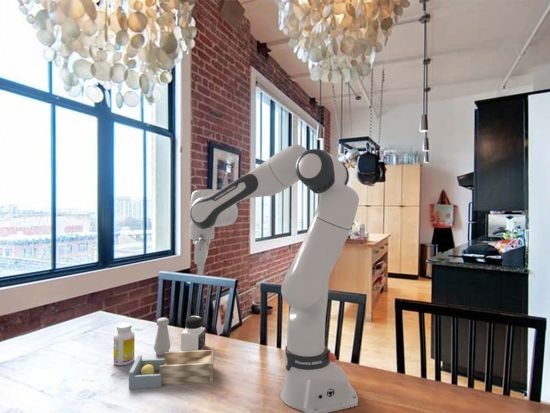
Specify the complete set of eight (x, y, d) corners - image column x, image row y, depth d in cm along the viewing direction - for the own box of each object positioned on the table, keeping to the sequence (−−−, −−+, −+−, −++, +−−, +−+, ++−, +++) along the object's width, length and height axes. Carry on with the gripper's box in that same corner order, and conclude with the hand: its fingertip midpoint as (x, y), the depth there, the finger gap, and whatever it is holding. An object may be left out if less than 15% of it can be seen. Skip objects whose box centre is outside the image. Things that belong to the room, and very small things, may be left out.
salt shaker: (165, 357, 120) (165, 322, 120) (150, 356, 121) (151, 320, 121) (173, 350, 126) (173, 316, 126) (159, 349, 127) (159, 315, 127)
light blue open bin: (166, 368, 112) (167, 354, 112) (160, 386, 101) (161, 370, 101) (137, 370, 111) (138, 355, 111) (128, 388, 100) (128, 372, 100)
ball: (153, 360, 108) (156, 371, 109) (140, 364, 108) (144, 376, 108) (150, 366, 104) (154, 378, 105) (137, 370, 104) (141, 382, 104)
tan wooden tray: (213, 367, 114) (213, 349, 114) (212, 382, 104) (213, 363, 104) (164, 369, 112) (165, 352, 112) (159, 386, 102) (159, 366, 102)
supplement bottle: (137, 357, 120) (137, 322, 120) (129, 366, 114) (129, 329, 113) (118, 357, 120) (119, 321, 120) (109, 366, 113) (110, 328, 113)
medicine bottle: (198, 353, 124) (199, 321, 124) (180, 351, 125) (181, 320, 125) (205, 345, 131) (206, 315, 131) (188, 343, 132) (188, 313, 132)
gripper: (209, 237, 111) (208, 278, 111) (211, 231, 131) (211, 266, 131) (190, 237, 110) (189, 278, 110) (195, 231, 130) (194, 266, 130)
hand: (201, 272), depth 120 cm, fingers open, 8 cm apart
